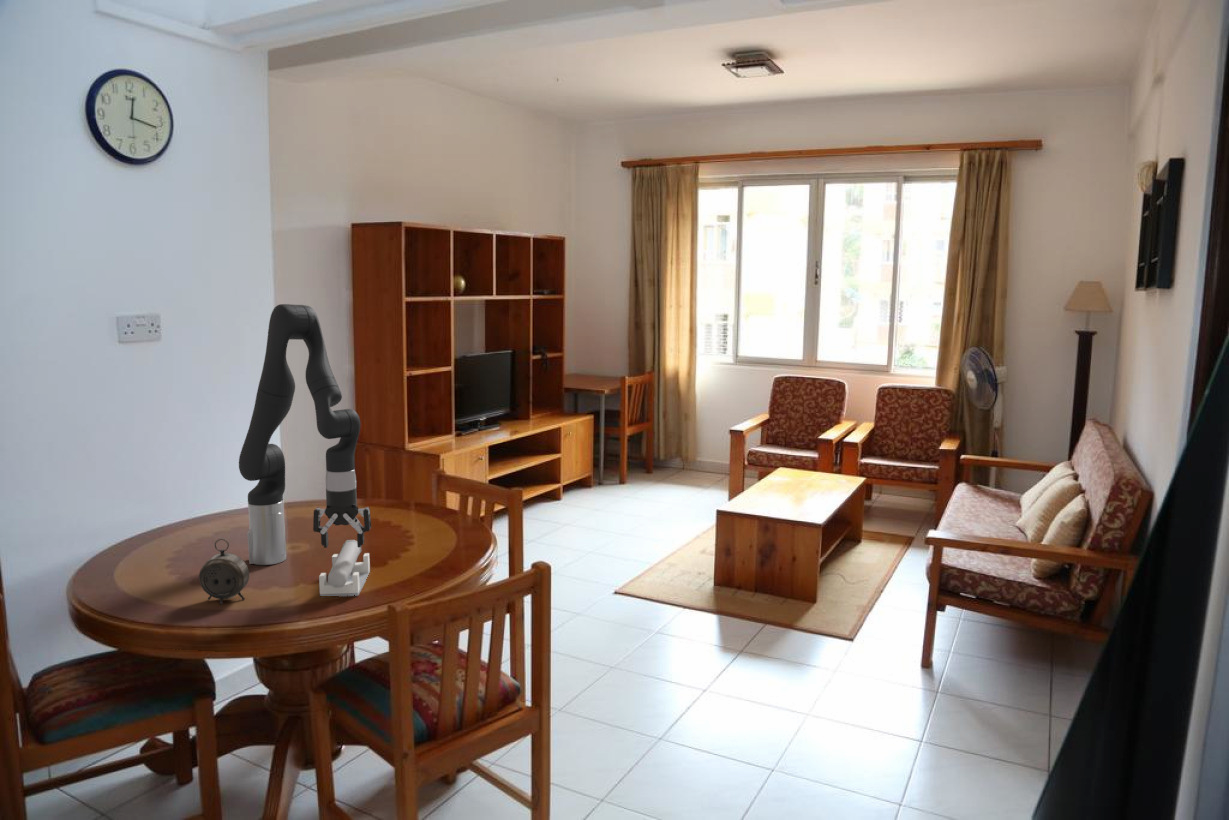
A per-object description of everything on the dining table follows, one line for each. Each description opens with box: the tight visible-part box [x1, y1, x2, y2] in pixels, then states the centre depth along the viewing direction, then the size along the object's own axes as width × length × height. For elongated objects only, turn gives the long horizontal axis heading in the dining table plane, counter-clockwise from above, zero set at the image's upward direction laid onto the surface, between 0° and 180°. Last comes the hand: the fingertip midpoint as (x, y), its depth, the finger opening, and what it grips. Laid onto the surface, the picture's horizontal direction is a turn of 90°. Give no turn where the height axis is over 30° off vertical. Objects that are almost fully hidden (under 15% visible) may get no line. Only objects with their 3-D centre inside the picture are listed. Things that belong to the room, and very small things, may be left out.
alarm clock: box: [198, 538, 250, 605], centre depth 215 cm, size 11×5×16 cm, turn 92°
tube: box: [327, 539, 362, 588], centre depth 228 cm, size 5×5×25 cm
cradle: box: [318, 552, 371, 597], centre depth 228 cm, size 9×17×6 cm, turn 6°
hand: (343, 546), depth 227 cm, fingers open, 8 cm apart
